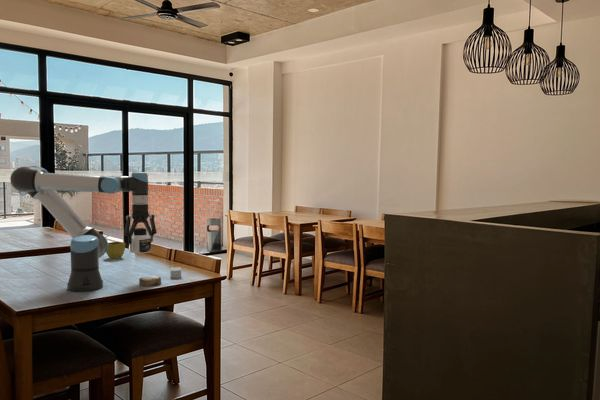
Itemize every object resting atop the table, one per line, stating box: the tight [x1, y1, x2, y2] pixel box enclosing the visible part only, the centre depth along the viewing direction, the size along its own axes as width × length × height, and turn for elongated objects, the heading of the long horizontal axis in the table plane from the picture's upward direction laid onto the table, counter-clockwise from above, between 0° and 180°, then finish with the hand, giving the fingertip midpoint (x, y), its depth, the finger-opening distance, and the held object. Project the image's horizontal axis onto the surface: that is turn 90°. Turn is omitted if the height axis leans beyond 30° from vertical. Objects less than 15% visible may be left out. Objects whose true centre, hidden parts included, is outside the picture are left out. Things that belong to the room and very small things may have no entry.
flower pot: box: [105, 241, 126, 259], centre depth 289 cm, size 9×9×9 cm
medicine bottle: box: [129, 227, 152, 255], centre depth 235 cm, size 7×7×12 cm
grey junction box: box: [169, 266, 182, 279], centre depth 244 cm, size 7×5×4 cm
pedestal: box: [138, 275, 162, 287], centre depth 229 cm, size 10×10×3 cm
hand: (140, 249), depth 236 cm, fingers closed on medicine bottle, 8 cm apart
